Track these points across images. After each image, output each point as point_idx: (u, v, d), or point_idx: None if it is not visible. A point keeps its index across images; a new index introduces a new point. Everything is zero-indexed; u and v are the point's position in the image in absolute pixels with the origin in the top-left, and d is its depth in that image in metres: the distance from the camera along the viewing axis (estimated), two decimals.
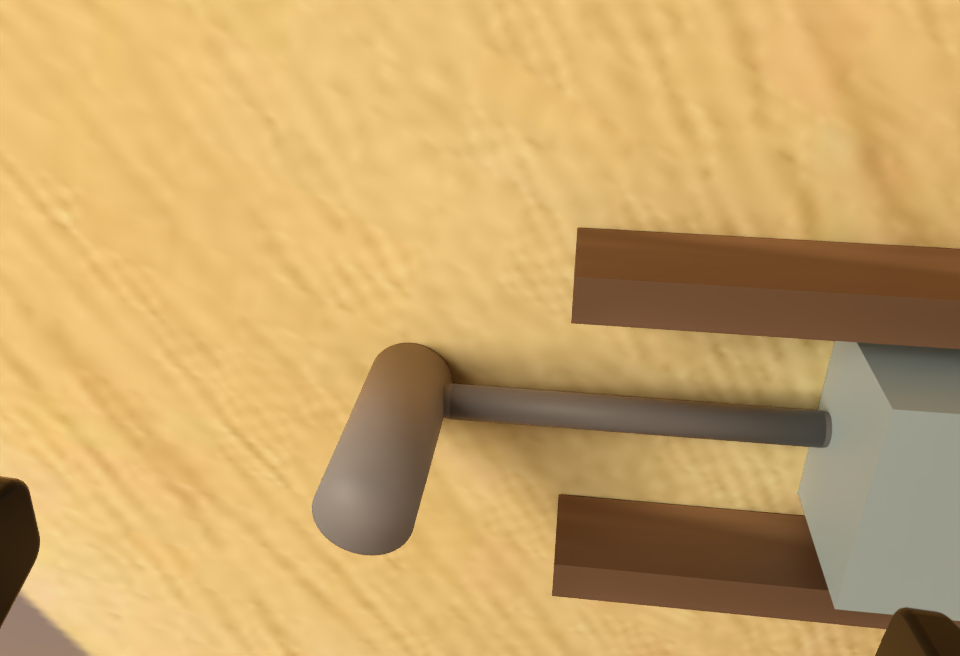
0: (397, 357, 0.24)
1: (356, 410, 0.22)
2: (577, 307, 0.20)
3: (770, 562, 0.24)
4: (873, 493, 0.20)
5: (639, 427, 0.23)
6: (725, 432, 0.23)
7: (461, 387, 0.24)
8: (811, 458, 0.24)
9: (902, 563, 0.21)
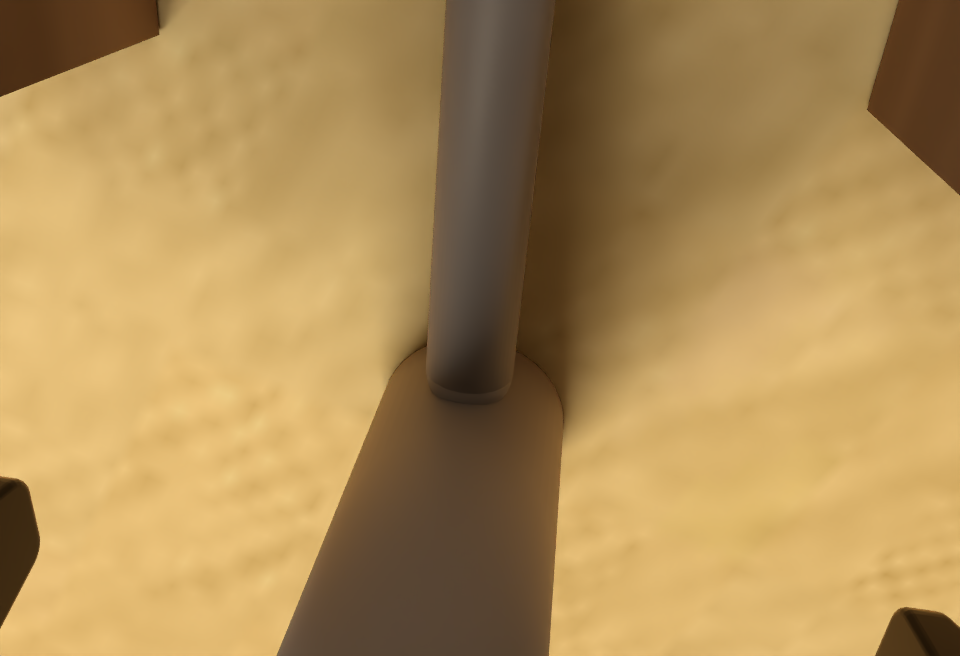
0: None
1: None
2: None
3: None
4: None
5: None
6: None
7: (427, 345, 0.10)
8: None
9: None
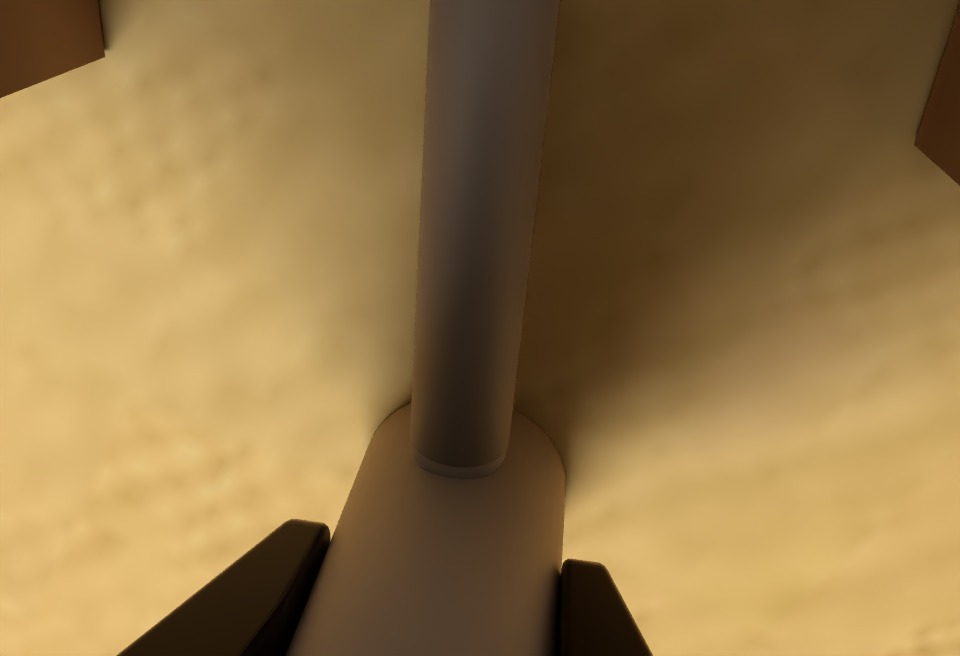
0: None
1: None
2: None
3: None
4: None
5: None
6: None
7: (411, 409, 0.09)
8: None
9: None
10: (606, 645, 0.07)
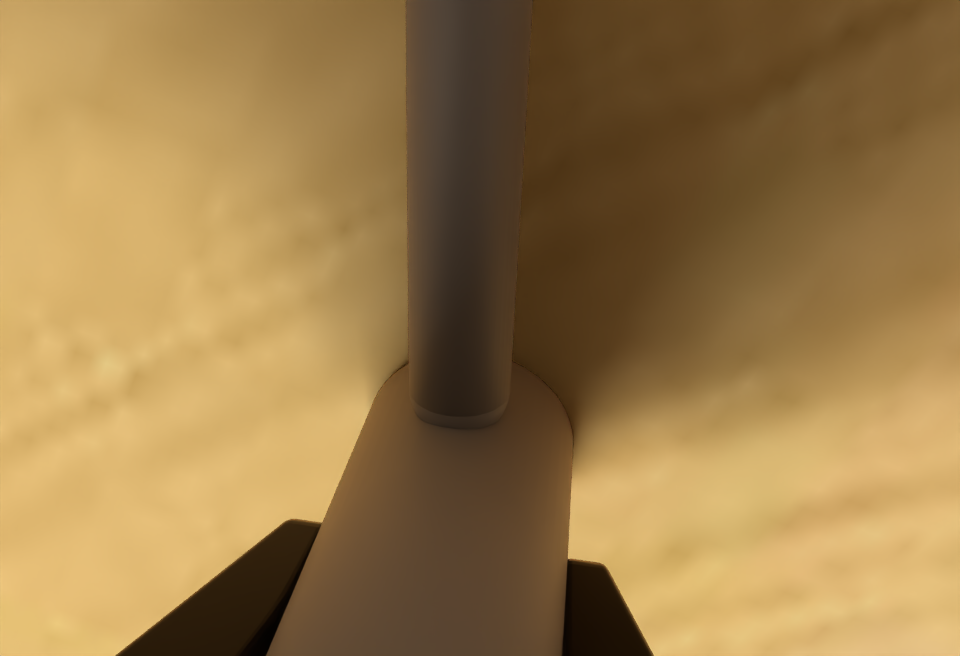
0: None
1: None
2: None
3: None
4: None
5: None
6: None
7: None
8: None
9: None
10: (607, 645, 0.07)
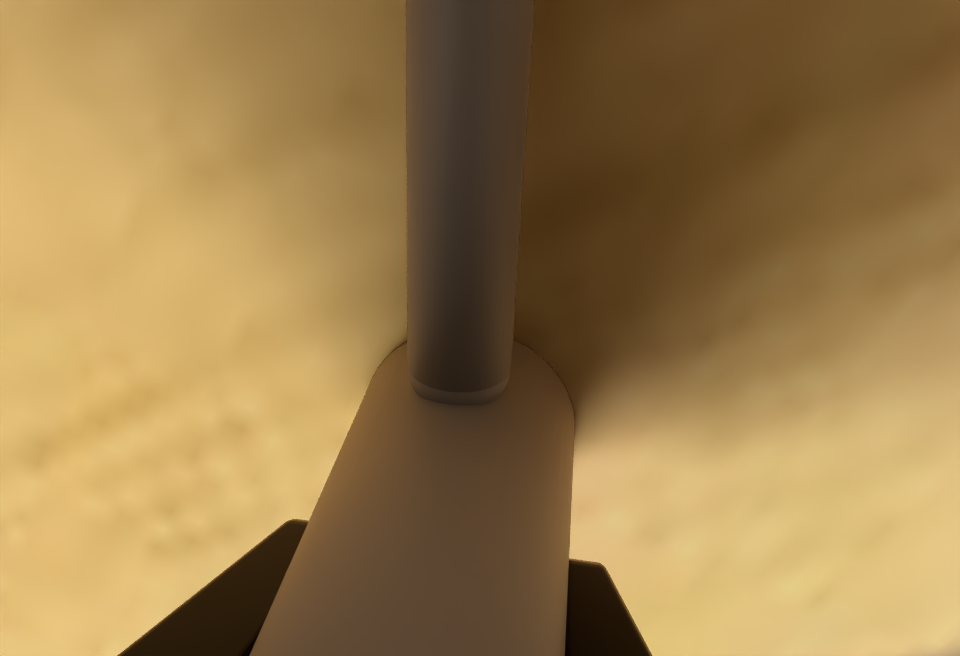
0: None
1: None
2: None
3: None
4: None
5: None
6: None
7: None
8: None
9: None
10: (606, 645, 0.07)
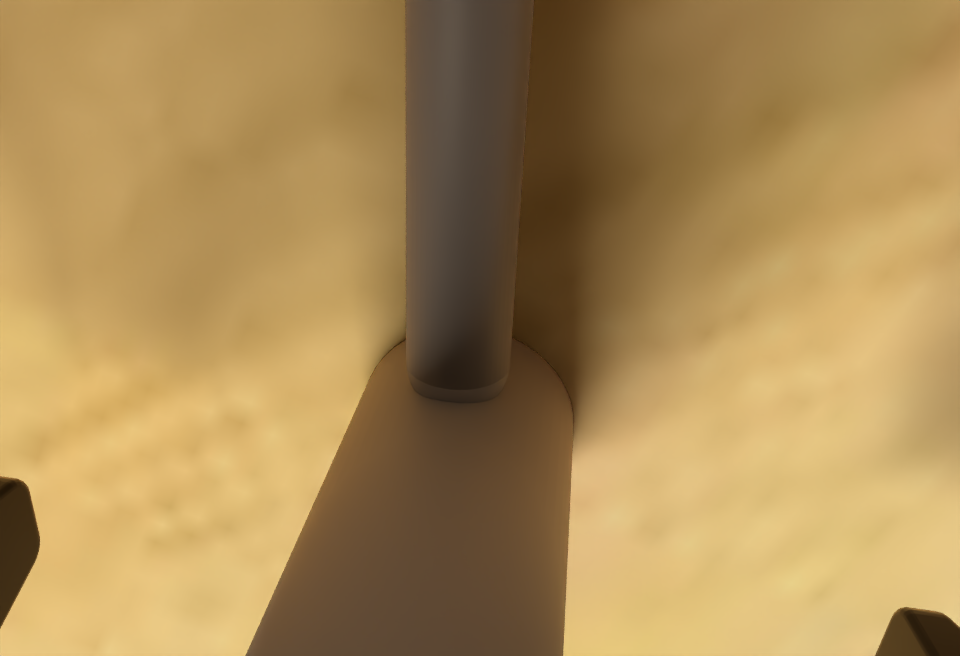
0: None
1: None
2: None
3: None
4: None
5: None
6: None
7: (406, 334, 0.08)
8: None
9: None
10: None
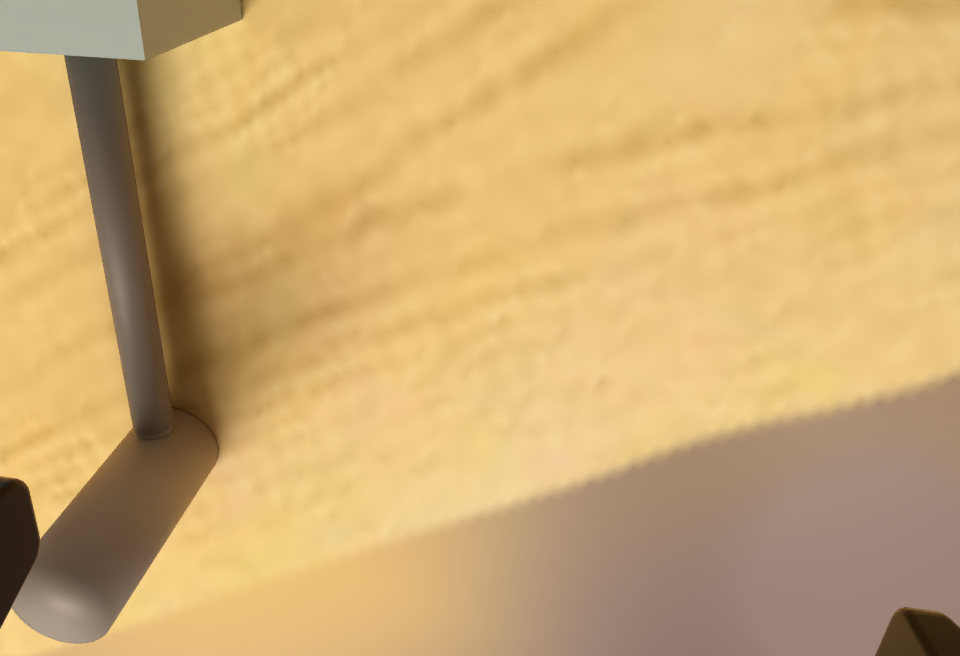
0: None
1: None
2: None
3: None
4: None
5: (114, 250, 0.20)
6: (93, 153, 0.19)
7: None
8: None
9: None
10: None
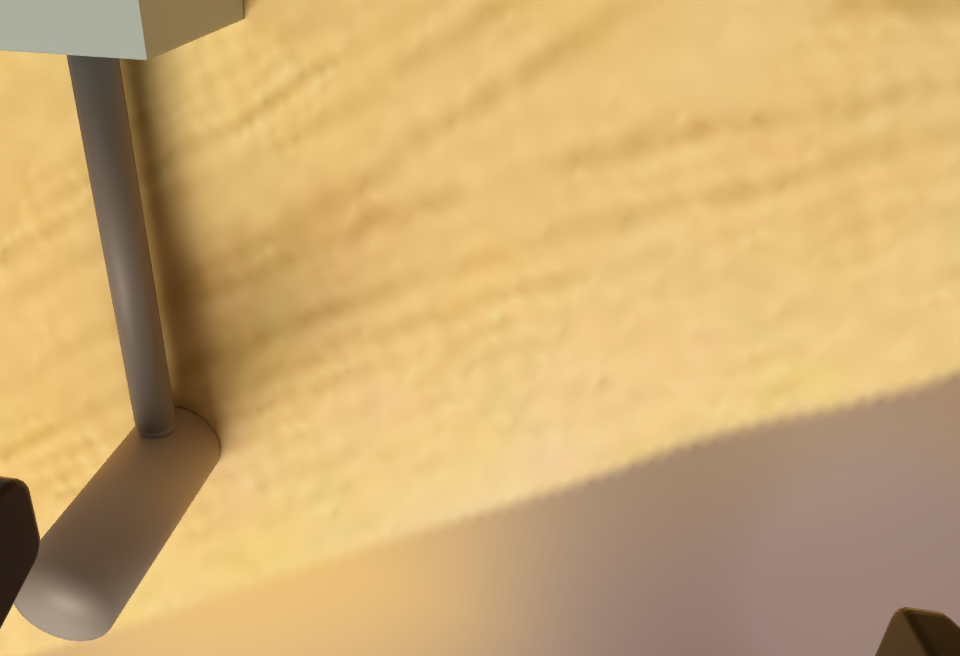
0: None
1: None
2: None
3: None
4: None
5: (116, 249, 0.20)
6: (96, 152, 0.19)
7: None
8: None
9: None
10: None
